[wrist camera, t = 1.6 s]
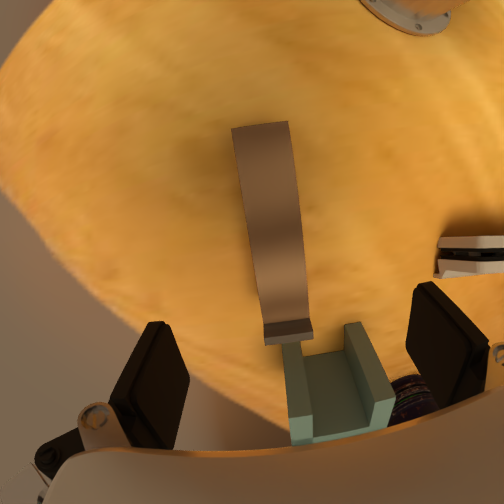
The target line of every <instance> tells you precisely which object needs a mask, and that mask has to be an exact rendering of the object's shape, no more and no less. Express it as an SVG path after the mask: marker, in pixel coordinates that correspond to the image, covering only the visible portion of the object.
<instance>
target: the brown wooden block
mask: <svg viewBox="0 0 504 504" xmlns="http://www.w3.org/2000/svg"><path fill="white" fill-rule="evenodd" d="M231 132H232V138H233V144H234V150H235V156H236V162H237V168H238V174H239V180H240V186H241V192H242V198H243V204H244V210H245V216H246V222H247V228H248V234H249V240H250V246H251V252H252V258H253V264H254V270H255V276H256V282H257V288H258V294H259V300H260V306H261V312H262V318H263V324H264V342H265V346H266V345H274V344H282V343H290V342H297V341H304V340H311V339H313V329H312V325H311V321H310V317H309V302H308V289H307V276H306V264H305V253H304V243H303V233H302V223H301V214H300V206H299V197H298V189H297V181H296V173H295V166H294V158H293V151H292V144H291V137H290V131H289V124H288V121H282V122H274V123H266V124H259V125H252V126H245V127H239V128H233V129H231Z"/></svg>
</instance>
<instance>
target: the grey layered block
mask: <svg viewBox="0 0 504 504" xmlns="http://www.w3.org/2000/svg"><path fill="white" fill-rule="evenodd" d="M437 248H441V251H445V252H453V254H454V255H441V259H438V266H439V273H434V274H433V277H434V278H439V279H444V278H454V277H463V276H472V275H481V274H490V273H504V236H463V237H440V238H439V241H438V247H437ZM486 252H494V253H493V255H492V256H491V257H487V256H481V253H486Z"/></svg>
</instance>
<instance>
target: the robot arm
mask: <svg viewBox="0 0 504 504" xmlns="http://www.w3.org/2000/svg"><path fill="white" fill-rule="evenodd" d="M360 1H361V2H362V3H363V4H364V5H365V6H366V7H367V8H368V9H369V10H370V11H371V12H372V13H374V14H375V15H376V16H377V17H378V18H380V19H381V20H383V21H384V22H386V23H387V24H389V25H391V26H393V27H395V28H396V29H398V30H401V31H403V32H406V33H409V34H413V35H417V36H431V35H435V34H437V33H439V32H441V31H443V30H444V29H446V27H447V26H448V24H449V22H450V19H451V10H452V9H454V8H456V7H457V6H459V5H461V4H463V3H465V2H467V1H469V0H360ZM488 342H489V340H488V339H487V337H486V336H485V335H484V334H483V333H482V332H481V331H480V330H479V329H478V328H477V326H476V325H475V324H474V323H473V322H472V321H471V320H470V319H469V318H468V317H467V316H466V315H465V314H464V313H463V312H462V311H461V310H460V308H459V307H458V306H457V305H456V304H455V303H454V302H453V301H452V300H451V299H450V298H449V297H448V296H447V295H446V294H445V293H444V292H443V291H442V290H441V289H439V288H438V287H437V286H436V285H435V284H434V283H433V282H432V281H429V282H424V283H420V284H418V285H417V287H416V288H415V289H414V290H413V297H412V305H411V312H410V319H409V326H408V332H407V337H406V350H407V352H408V354H409V355H410V357H411V359H412V361H413V362H414V364H415V366H416V367H417V369H418V371H419V373H420V374H421V376H422V378H423V380H424V382H425V383H426V385H427V387H428V389H429V391H430V392H431V394H432V396H433V398H434V400H435V402H436V404H437V405H438V407H439V409H440V410H438V411H436V412H433V413H431V414H428V415H425V416H422V417H419V418H416V419H413V420H410V421H407V422H404V423H401V424H398V425H394V426H391V427H387V428H384V429H380V430H376V431H372V432H368V433H364V434H360V435H356V436H351V437H347V438H342V439H337V440H332V441H326V442H320V443H314V444H307V445H300V446H292V447H284V448H273V449H262V450H245V451H182V450H173V448H174V444H175V440H176V436H177V432H178V428H179V423H180V419H181V415H182V411H183V407H184V403H185V399H186V395H187V391H188V387H189V383H190V377H189V373H188V371H187V368H186V366H185V363H184V361H183V358H182V356H181V353H180V351H179V348H178V346H177V343H176V341H175V338H174V335H173V333H172V330H171V327H170V326H169V325H168V324H165V322H164V321H155V322H149V323H148V324H147V326H146V328H145V330H144V331H143V333H142V335H141V337H140V339H139V341H138V343H137V345H136V347H135V348H134V350H133V352H132V354H131V356H130V358H129V360H128V362H127V364H126V366H125V368H124V369H123V371H122V373H121V376H120V377H119V379H118V381H117V383H116V385H115V387H114V389H113V392H112V394H111V396H110V400H109V402H108V404H107V403H104V402H95V403H92V404H90V405H88V406H86V407H85V408H84V409H83V410H82V411H81V412H80V414H79V416H78V419H77V424H78V427H77V428H75V429H73V430H71V431H69V432H67V433H65V434H63V435H61V436H60V437H57V438H55V439H53V440H51V441H49V442H47V443H45V444H43V445H42V446H41V447H40V448H39V449H38V450H37V452H36V454H35V458H34V459H35V464H32V463H31V462H30V463H29V464H28V465H27V466H25V467H24V468H23V469H22V470H21V471H19V472H18V473H17V474H16V475H15V476H13V477H12V478H11V479H10V480H8V481H7V482H6V483H5V484H4V485H3V486H2V487H1V490H0V499H1V502H2V504H504V342H498V343H495V344H494V345H492V347H490V346H489V345H488Z"/></svg>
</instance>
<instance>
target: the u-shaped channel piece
mask: <svg viewBox="0 0 504 504" xmlns="http://www.w3.org/2000/svg"><path fill="white" fill-rule="evenodd" d="M282 353H283V363H284V373H285V384H286V395H287V406H288V417H289V426H290V434H291V442H292V446H300V445H307V444H314V443H320V442H326V441H332V440H337V439H342V438H347V437H351V436H356V435H360V434H364V433H368V432H372V431H376V430H380V429H384V428H387V425H388V422H389V419H390V416H391V412H392V409H393V406H394V403H395V399H396V395H395V393H394V391H393V388H392V386H391V384H390V382H389V380H388V377H387V375H386V373H385V371H384V369H383V367H382V364H381V362H380V360H379V358H378V356H377V354H376V352H375V350H374V348H373V346H372V343H371V341H370V339H369V337H368V335H367V333H366V331H365V329H364V327H363V325H362V323H361V322H357V323H352V324H346V325H345V328H344V350H342V351H337V352H331V353H325V354H319V355H313V356H306V357H302V351H301V346H300V341H297V342H290V343H282Z"/></svg>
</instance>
